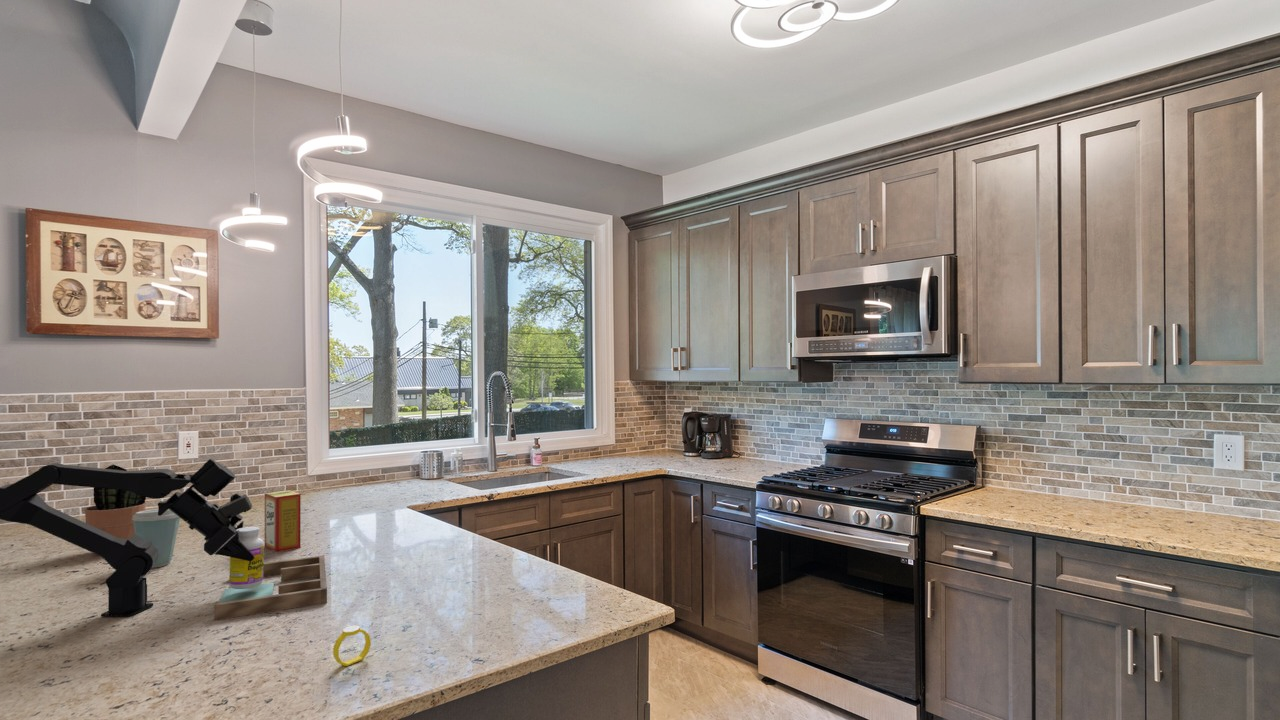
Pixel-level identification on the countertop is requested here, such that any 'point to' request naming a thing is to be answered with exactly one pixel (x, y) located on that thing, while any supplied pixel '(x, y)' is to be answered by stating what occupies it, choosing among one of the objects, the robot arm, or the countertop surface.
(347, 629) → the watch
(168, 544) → the disposable coffee cup
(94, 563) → the countertop surface
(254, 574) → the supplement bottle
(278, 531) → the baking soda box
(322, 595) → the wooden compartment box
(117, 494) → the potted plant
